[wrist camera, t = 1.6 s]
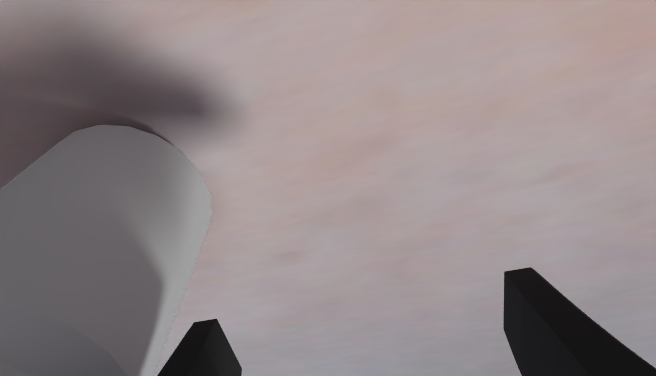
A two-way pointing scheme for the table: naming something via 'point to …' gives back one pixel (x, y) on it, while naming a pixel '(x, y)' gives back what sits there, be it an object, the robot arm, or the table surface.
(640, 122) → the table surface
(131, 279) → the can
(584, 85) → the table surface
